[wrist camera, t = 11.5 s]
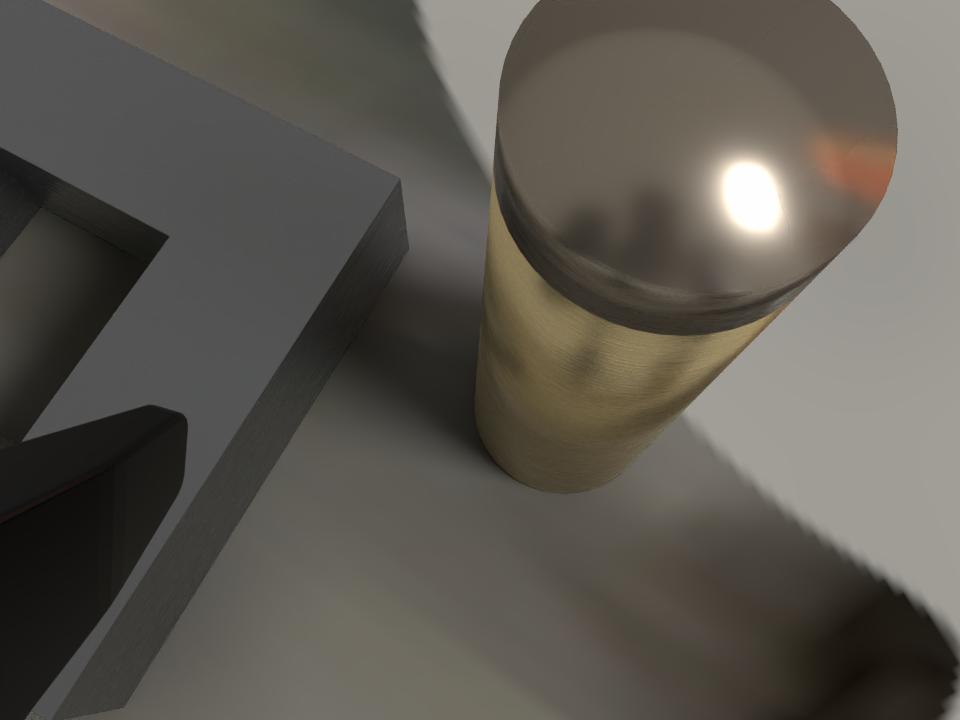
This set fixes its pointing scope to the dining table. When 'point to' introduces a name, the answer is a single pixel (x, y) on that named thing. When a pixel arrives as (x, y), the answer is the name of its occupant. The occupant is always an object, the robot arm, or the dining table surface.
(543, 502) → the dining table surface
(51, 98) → the bore housing
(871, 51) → the brass plug
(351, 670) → the dining table surface
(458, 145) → the dining table surface
